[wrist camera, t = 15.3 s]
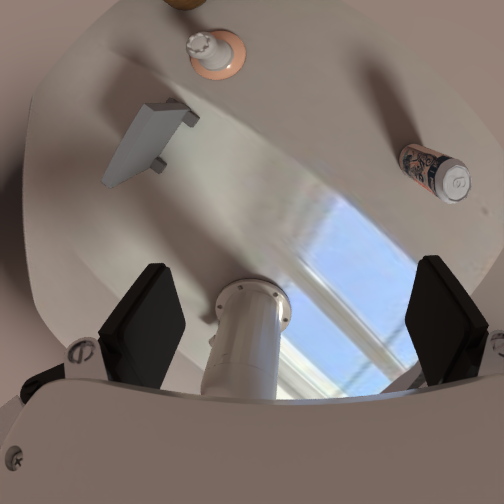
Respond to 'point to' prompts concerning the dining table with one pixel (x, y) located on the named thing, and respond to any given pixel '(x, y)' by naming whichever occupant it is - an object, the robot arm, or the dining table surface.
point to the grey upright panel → (147, 140)
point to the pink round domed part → (235, 64)
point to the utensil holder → (185, 4)
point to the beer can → (436, 172)
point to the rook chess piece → (210, 51)
